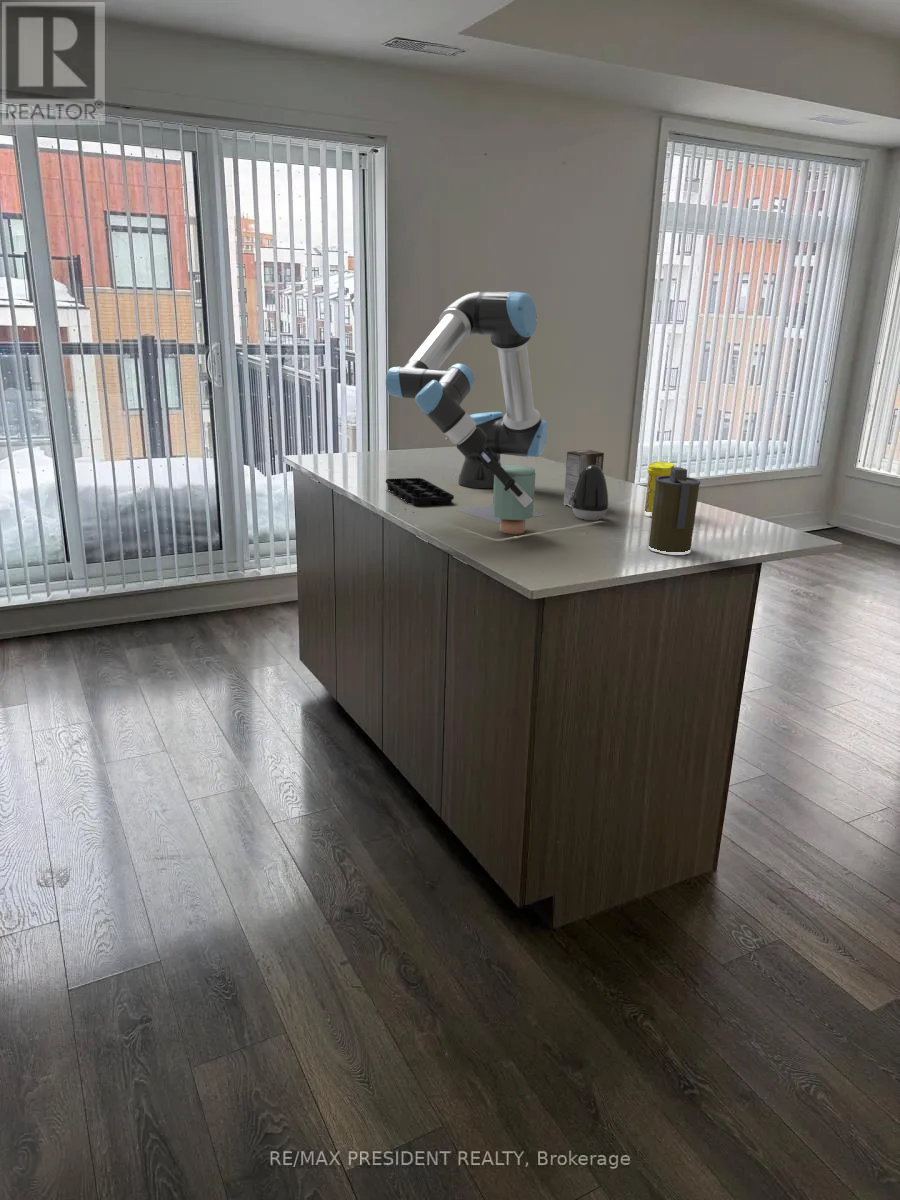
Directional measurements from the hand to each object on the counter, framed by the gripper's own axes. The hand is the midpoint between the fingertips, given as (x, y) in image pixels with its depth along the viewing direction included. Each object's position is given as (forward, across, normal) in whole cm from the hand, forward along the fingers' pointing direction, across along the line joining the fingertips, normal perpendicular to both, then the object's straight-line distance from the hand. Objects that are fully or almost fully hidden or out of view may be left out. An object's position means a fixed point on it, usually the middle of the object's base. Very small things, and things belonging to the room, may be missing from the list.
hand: (525, 499), depth 212 cm
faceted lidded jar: (+1, 0, -5) cm, 5 cm away
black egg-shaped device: (+21, -16, +9) cm, 28 cm away
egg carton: (-11, -42, -24) cm, 50 cm away
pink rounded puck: (+4, 0, -8) cm, 9 cm away
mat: (+4, -21, -8) cm, 23 cm away
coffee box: (+23, -33, +10) cm, 42 cm away
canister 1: (+37, -24, +24) cm, 50 cm away
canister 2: (+30, +15, +18) cm, 38 cm away
